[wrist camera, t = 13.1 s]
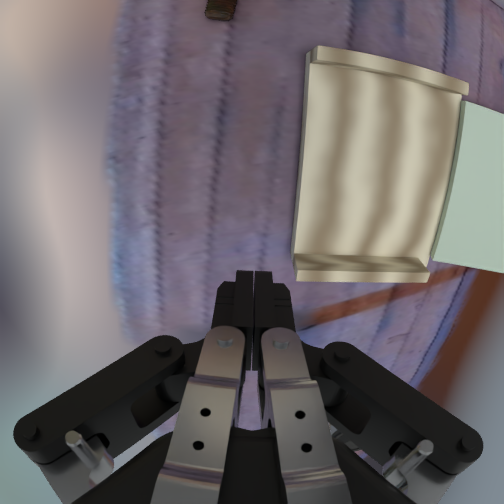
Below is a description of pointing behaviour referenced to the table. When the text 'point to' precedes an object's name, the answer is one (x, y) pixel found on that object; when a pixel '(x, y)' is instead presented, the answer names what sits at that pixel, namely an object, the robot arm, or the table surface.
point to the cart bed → (371, 167)
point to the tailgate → (475, 194)
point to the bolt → (220, 9)
